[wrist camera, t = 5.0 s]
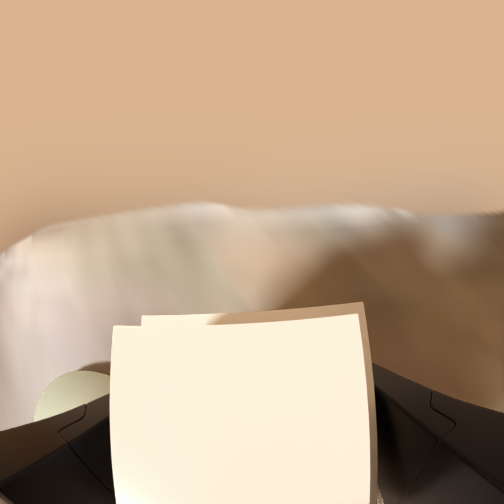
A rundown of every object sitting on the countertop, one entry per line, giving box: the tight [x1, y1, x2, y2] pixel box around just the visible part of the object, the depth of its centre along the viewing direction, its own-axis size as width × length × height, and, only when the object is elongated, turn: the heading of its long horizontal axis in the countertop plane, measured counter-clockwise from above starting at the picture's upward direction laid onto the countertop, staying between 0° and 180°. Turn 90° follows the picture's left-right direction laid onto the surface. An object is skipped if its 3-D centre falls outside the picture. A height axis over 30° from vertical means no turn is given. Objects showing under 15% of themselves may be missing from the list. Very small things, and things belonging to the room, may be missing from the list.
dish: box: [34, 370, 110, 422], centre depth 13 cm, size 11×11×1 cm
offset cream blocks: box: [110, 302, 378, 504], centre depth 9 cm, size 6×6×12 cm
